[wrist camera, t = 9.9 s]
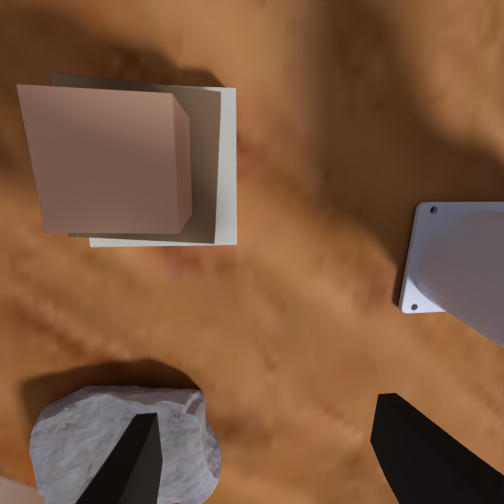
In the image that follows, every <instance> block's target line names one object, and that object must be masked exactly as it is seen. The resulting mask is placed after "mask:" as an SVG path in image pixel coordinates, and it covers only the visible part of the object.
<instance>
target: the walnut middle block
mask: <svg viewBox="0 0 504 504" xmlns="http://www.w3.org/2000/svg"><path fill="white" fill-rule="evenodd" d="M50 75H51V84H52V86H54V87H71V88H88V89H105V90H123V91H140V92H157V93H172V94H173V95H174V97H175V98H176V100H177V101H178V102H179V104H180V105H181V107H182V108H183V110H184V111H185V112H186V114H187V115H188V117H189V128H190V159H191V189H192V215H191V216H190V218H189V219H188V221H187V222H186V224H185V225H184V227H183V228H182V230H181V231H180V233H179V234H150V233H68V237H87V238H107V239H127V240H147V241H167V242H187V243H207V244H214V242H215V230H216V208H217V185H218V162H219V140H220V117H221V92H219V91H211V90H202V89H194V88H186V87H177V86H169V85H160V84H152V83H144V82H135V81H127V80H118V79H110V78H101V77H93V76H85V75H76V74H68V73H59V72H51V71H50Z"/></svg>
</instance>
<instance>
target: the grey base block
mask: <svg viewBox="0 0 504 504" xmlns="http://www.w3.org/2000/svg"><path fill="white" fill-rule="evenodd" d="M169 86H174V85H169ZM177 87H186V88H194V89H202V90H211V91H219V92H221V117H220V140H219V162H218V185H217V208H216V230H215V242H214V244H207V243H187V242H167V241H147V240H127V239H107V238H89V240H90V246H91V247H127V246H188V245H237V219H236V88H222V87H198V86H177Z"/></svg>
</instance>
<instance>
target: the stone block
mask: <svg viewBox="0 0 504 504" xmlns="http://www.w3.org/2000/svg"><path fill="white" fill-rule="evenodd" d="M205 407H206V404H205V398H204V394H203V392H202V391H201V390H195V389H190V388H187V389H175V388H157V389H153V388H147V387H139V386H85V387H84V388H82V389H80V390H78V391H76V392H74V393H71V394H69V395H67V396H65V397H63V398H61V399H59V400H57V401H54V402H52V403H50V404H49V405H48V406H47V407H45V408H44V409H43V411H42V412H41V413H40V415H39V417H38V419H37V421H36V424H35V426H34V427H33V430H32V433H31V437H30V444H29V447H30V457H31V461H32V463H33V468H34V474H35V477H36V483H37V488H38V493H39V494H40V495H42V498H43V500H44V504H75V503H76V501H77V500H78V499H79V497H80V496H81V495H82V493H83V492H84V490H85V489H86V488H87V486H88V485H89V483H90V482H91V480H92V479H93V478H94V476H95V475H96V473H97V472H98V470H99V469H100V468H101V466H102V465H103V463H104V462H105V460H106V459H107V457H108V456H109V454H110V453H111V451H112V450H113V448H114V447H115V445H116V444H117V442H118V441H119V439H120V438H121V436H122V435H123V433H124V431H125V430H126V428H127V427H128V425H129V424H130V422H131V420H132V419H133V417H134V416H135V415H136V414H144V413H156V412H157V415H158V424H159V432H160V441H161V449H162V458H163V464H162V472H161V479H160V486H159V492H158V499H157V504H172V503H181V504H202V503H203V502H204V501H205V500H206V499H207V498H208V497H209V496H210V495H211V494H212V493H213V491H214V489H215V487H216V485H217V483H218V480H219V478H220V472H221V449H220V446H219V443H218V441H217V439H216V438H215V434H214V433H213V432H212V429H211V427H210V425H209V424H208V423H207V421H206V418H205Z"/></svg>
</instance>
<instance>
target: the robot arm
mask: <svg viewBox="0 0 504 504" xmlns="http://www.w3.org/2000/svg"><path fill="white" fill-rule="evenodd" d="M432 207H433V211H432V212H431V213H430V210H431V208H432ZM413 304H414V306H413V307H412V308H411V306H412V305H413ZM399 310H401V311H402V312H403V313H424V312H448V313H449V314H451V315H452V316H454V317H456V318H457V319H459V320H460V321H462V322H463V323H465V324H466V325H468V326H470V327H471V328H473V329H474V330H476V331H477V332H479V333H480V334H482V335H483V336H485V337H487V338H488V339H490V340H491V341H493V342H494V343H496V344H497V345H499V346H501V347H502V348H504V202H422V203H420V204H419V205H418V206H417V208H416V212H415V218H414V223H413V229H412V234H411V240H410V245H409V251H408V256H407V262H406V267H405V273H404V278H403V284H402V289H401V295H400V300H399ZM370 442H371V444H372V446H373V449H374V451H375V454H376V456H377V459H378V461H379V464H380V466H381V468H382V470H383V473H384V475H385V477H386V479H387V481H388V483H389V485H390V487H391V489H392V491H393V493H394V494H395V496H396V498H397V500H398V502H399V504H504V475H502V474H501V473H500V472H498V471H497V470H495V469H494V468H493V467H491V466H490V465H489V464H487V463H486V462H484V461H483V460H482V459H480V458H479V457H478V456H476V455H475V454H474V453H472V452H471V451H470V450H468V449H467V448H466V447H465V446H463V445H462V444H461V443H459V442H458V441H457V440H455V439H454V438H453V437H452V436H450V435H449V434H448V433H446V432H445V431H444V430H443V429H441V428H440V427H439V426H437V425H436V424H435V423H434V422H432V421H431V420H430V419H429V418H427V417H426V416H425V415H423V414H422V413H421V412H420V411H418V410H417V409H416V408H415V407H413V406H412V405H411V404H409V403H408V402H407V401H406V400H404V399H403V398H402V397H400V396H399V395H398V394H396V393H388V394H378V399H377V405H376V411H375V416H374V422H373V428H372V433H371V439H370ZM162 464H163V458H162V449H161V441H160V432H159V424H158V415H157V412H156V413H144V414H136V415H135V416H134V417H133V419H132V420H131V422H130V424H129V425H128V427H127V428H126V430H125V431H124V433H123V435H122V436H121V438H120V439H119V441H118V442H117V444H116V445H115V447H114V448H113V450H112V451H111V453H110V454H109V456H108V457H107V459H106V460H105V462H104V463H103V465H102V466H101V468H100V469H99V470H98V472H97V473H96V475H95V476H94V478H93V479H92V480H91V482H90V483H89V485H88V486H87V488H86V489H85V490H84V492H83V493H82V495H81V496H80V497H79V499H78V500H77V501H76V503H75V504H157V499H158V492H159V486H160V479H161V472H162Z"/></svg>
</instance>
